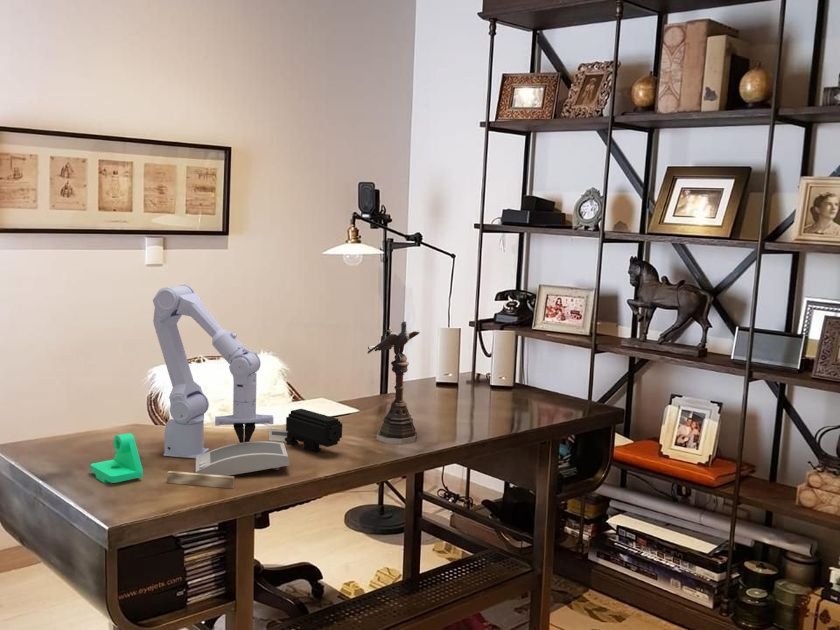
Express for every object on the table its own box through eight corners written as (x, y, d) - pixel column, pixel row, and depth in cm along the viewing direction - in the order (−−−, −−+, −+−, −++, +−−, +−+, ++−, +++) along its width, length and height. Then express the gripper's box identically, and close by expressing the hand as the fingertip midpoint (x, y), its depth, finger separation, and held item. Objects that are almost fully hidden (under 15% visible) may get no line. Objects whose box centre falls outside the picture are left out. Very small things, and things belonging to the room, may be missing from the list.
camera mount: (89, 474, 202) (88, 432, 201) (119, 468, 207) (119, 427, 206) (111, 487, 194) (111, 444, 192) (142, 481, 199) (142, 438, 198)
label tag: (268, 440, 236) (269, 428, 235) (269, 440, 236) (269, 427, 236) (289, 442, 235) (289, 429, 234) (290, 441, 235) (290, 429, 235)
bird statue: (354, 433, 246) (357, 315, 241) (388, 427, 255) (393, 312, 250) (389, 447, 234) (394, 322, 229) (425, 440, 242) (430, 320, 238)
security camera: (297, 440, 237) (298, 405, 236) (343, 454, 225) (344, 418, 224) (278, 445, 232) (279, 409, 231) (324, 460, 220) (325, 423, 219)
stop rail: (167, 482, 198) (167, 472, 198) (169, 481, 199) (169, 470, 199) (232, 488, 196) (232, 478, 196) (234, 486, 197) (234, 476, 197)
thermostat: (195, 466, 212) (195, 443, 211) (285, 462, 218) (285, 440, 217) (195, 481, 201) (195, 456, 200) (289, 476, 207) (290, 452, 206)
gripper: (272, 395, 220) (271, 446, 222) (214, 396, 217) (214, 448, 218) (274, 402, 214) (273, 454, 215) (215, 403, 210) (215, 456, 212)
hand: (243, 451), depth 216 cm, fingers closed
